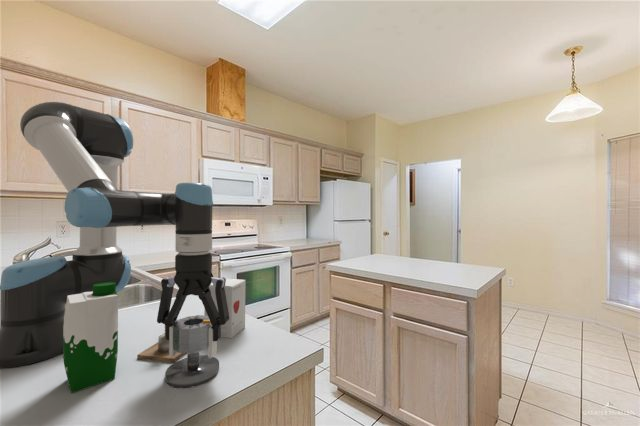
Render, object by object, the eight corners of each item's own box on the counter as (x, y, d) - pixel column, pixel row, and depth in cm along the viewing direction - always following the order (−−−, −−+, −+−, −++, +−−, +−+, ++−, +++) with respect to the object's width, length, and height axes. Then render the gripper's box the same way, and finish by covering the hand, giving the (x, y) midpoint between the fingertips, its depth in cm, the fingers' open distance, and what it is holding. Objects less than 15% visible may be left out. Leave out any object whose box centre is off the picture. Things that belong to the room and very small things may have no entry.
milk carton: (120, 378, 61) (121, 285, 61) (64, 397, 55) (65, 294, 55) (113, 363, 67) (114, 278, 67) (61, 378, 61) (62, 285, 61)
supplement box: (231, 339, 81) (232, 286, 81) (203, 336, 82) (203, 284, 82) (246, 326, 89) (246, 279, 89) (220, 324, 91) (220, 277, 91)
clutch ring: (165, 352, 60) (165, 326, 60) (185, 335, 68) (185, 313, 68) (202, 353, 59) (203, 327, 59) (218, 336, 67) (218, 314, 67)
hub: (152, 384, 59) (153, 347, 59) (186, 358, 70) (186, 326, 70) (201, 391, 57) (201, 352, 57) (228, 362, 68) (228, 330, 68)
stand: (137, 358, 69) (137, 317, 69) (166, 340, 79) (166, 304, 79) (174, 362, 68) (174, 320, 68) (198, 343, 78) (199, 307, 78)
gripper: (137, 254, 60) (136, 361, 60) (234, 255, 59) (233, 364, 59) (158, 249, 68) (158, 345, 68) (245, 250, 67) (244, 347, 67)
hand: (193, 354), depth 64 cm, fingers closed on clutch ring, 8 cm apart
